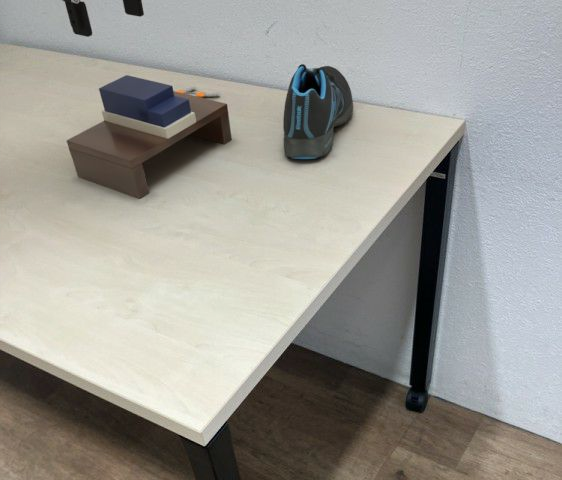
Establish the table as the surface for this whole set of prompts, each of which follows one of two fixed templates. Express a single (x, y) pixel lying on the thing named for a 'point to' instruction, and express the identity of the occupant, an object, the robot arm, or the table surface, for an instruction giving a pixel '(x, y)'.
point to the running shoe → (314, 111)
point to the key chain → (200, 94)
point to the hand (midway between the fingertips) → (109, 24)
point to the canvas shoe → (146, 106)
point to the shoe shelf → (139, 146)
